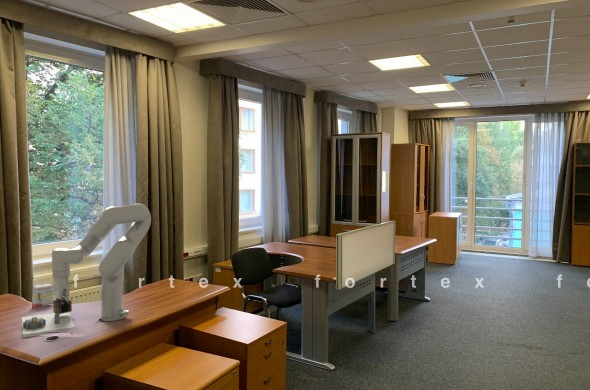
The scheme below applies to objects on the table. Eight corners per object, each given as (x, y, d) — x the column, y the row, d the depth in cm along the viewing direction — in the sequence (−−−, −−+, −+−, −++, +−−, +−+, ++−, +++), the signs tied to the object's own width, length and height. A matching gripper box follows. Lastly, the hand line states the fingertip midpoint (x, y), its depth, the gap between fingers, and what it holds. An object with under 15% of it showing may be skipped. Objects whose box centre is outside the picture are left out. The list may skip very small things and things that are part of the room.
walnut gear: (75, 308, 215) (75, 297, 214) (66, 314, 206) (66, 302, 206) (58, 308, 215) (58, 298, 214) (49, 314, 206) (48, 303, 206)
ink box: (35, 310, 224) (35, 287, 223) (31, 308, 227) (32, 285, 226) (53, 306, 230) (53, 284, 230) (49, 304, 233) (49, 283, 233)
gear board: (21, 320, 208) (22, 307, 207) (68, 314, 219) (68, 302, 218) (23, 337, 186) (23, 323, 186) (74, 330, 197) (75, 317, 197)
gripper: (47, 272, 213) (48, 307, 214) (58, 278, 201) (59, 315, 202) (64, 269, 218) (65, 304, 219) (75, 275, 206) (76, 312, 207)
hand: (62, 309), depth 210 cm, fingers closed on walnut gear, 7 cm apart
